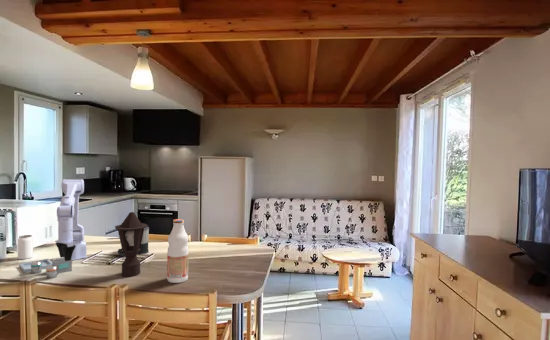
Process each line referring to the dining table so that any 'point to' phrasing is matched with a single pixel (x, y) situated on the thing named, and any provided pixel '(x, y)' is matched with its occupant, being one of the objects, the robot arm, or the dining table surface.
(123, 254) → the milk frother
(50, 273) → the terracotta cartridge
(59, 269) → the wall unit
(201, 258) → the dining table surface
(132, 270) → the lantern
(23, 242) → the can
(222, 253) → the dining table surface
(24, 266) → the tray
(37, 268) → the teal cartridge
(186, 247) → the fruit juice
